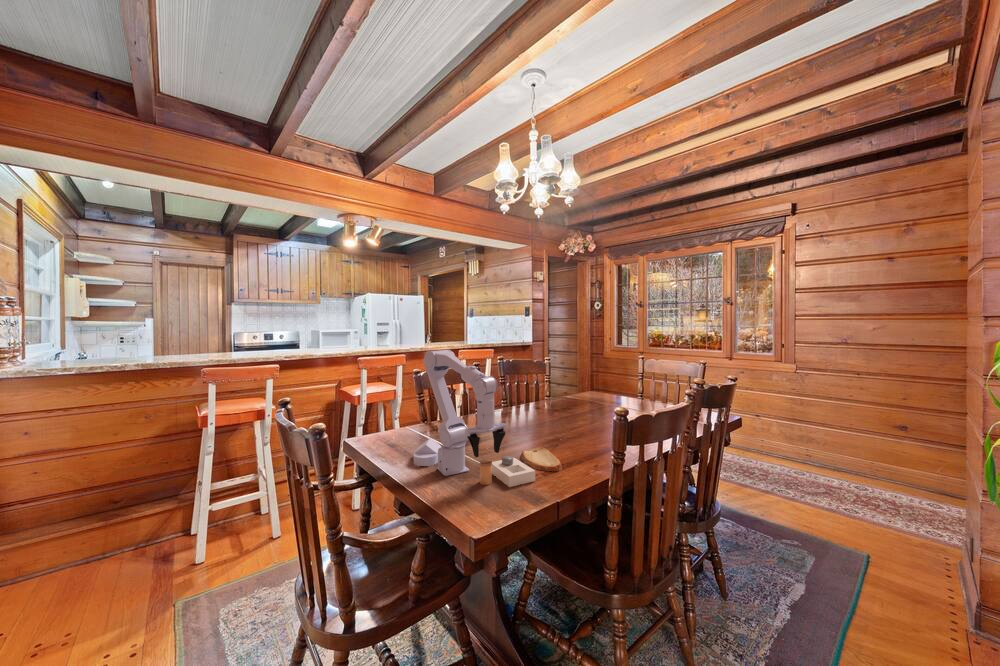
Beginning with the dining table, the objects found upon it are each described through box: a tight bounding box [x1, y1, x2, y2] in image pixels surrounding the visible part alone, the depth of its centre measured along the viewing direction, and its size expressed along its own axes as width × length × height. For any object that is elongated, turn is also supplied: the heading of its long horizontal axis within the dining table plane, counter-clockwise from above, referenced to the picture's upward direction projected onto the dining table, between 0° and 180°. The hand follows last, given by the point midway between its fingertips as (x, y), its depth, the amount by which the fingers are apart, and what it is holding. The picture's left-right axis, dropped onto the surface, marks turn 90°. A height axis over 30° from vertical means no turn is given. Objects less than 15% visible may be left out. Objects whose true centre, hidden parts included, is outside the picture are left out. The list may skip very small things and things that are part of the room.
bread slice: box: [520, 446, 563, 473], centre depth 147 cm, size 18×18×4 cm
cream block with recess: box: [492, 455, 536, 488], centre depth 133 cm, size 10×14×6 cm
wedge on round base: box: [413, 437, 442, 467], centre depth 148 cm, size 9×7×13 cm
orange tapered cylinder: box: [479, 458, 493, 486], centre depth 128 cm, size 4×4×7 cm
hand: (486, 454), depth 128 cm, fingers open, 7 cm apart
